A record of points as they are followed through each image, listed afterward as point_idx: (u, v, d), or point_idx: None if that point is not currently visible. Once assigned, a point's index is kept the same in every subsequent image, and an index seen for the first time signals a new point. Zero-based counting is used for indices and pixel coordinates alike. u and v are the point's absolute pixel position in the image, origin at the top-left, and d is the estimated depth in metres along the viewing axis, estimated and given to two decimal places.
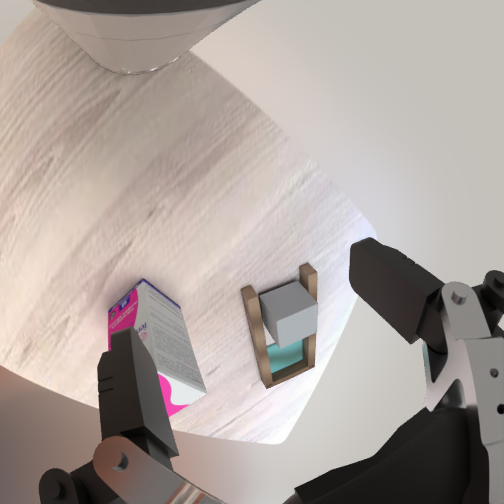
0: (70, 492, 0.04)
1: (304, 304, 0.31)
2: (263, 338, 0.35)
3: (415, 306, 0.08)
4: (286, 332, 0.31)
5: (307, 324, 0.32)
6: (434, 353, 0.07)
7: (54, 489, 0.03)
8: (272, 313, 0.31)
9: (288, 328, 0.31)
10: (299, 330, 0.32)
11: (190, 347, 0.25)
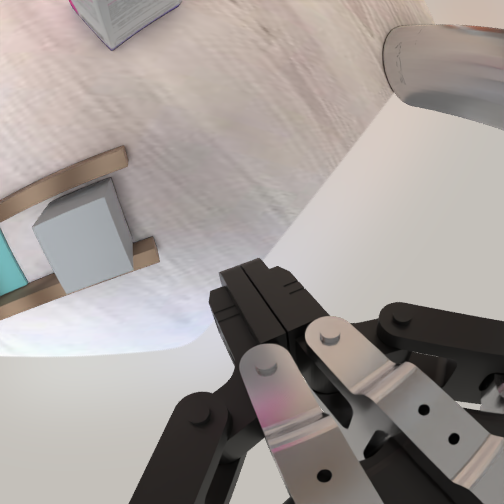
0: (218, 413, 0.05)
1: (126, 248, 0.17)
2: (31, 203, 0.15)
3: None
4: (72, 228, 0.14)
5: (85, 267, 0.16)
6: (327, 396, 0.07)
7: (199, 414, 0.05)
8: (106, 192, 0.15)
9: (83, 229, 0.15)
10: (74, 254, 0.15)
11: (111, 22, 0.09)
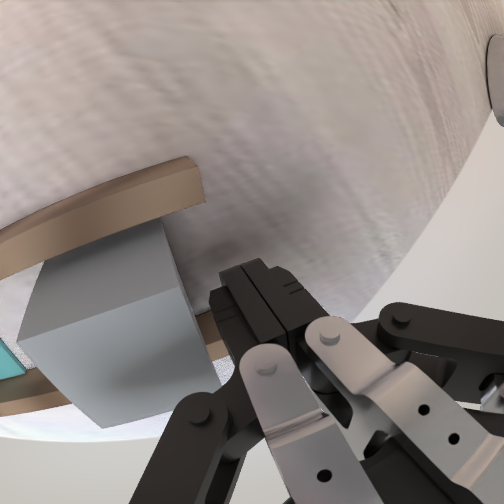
0: (218, 413, 0.05)
1: (210, 360, 0.09)
2: (11, 268, 0.07)
3: None
4: (105, 346, 0.07)
5: (136, 398, 0.08)
6: (327, 396, 0.07)
7: (199, 414, 0.05)
8: (172, 264, 0.08)
9: (129, 347, 0.07)
10: (113, 383, 0.07)
11: None
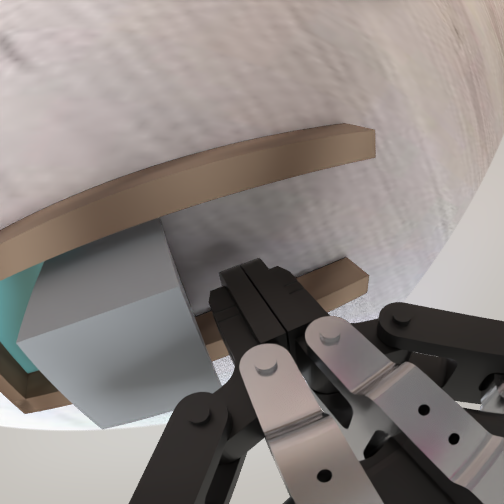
0: (218, 413, 0.05)
1: (210, 360, 0.09)
2: (201, 196, 0.09)
3: None
4: (105, 346, 0.07)
5: (136, 398, 0.08)
6: (327, 396, 0.07)
7: (199, 414, 0.05)
8: (172, 264, 0.08)
9: (129, 347, 0.07)
10: (113, 384, 0.07)
11: None
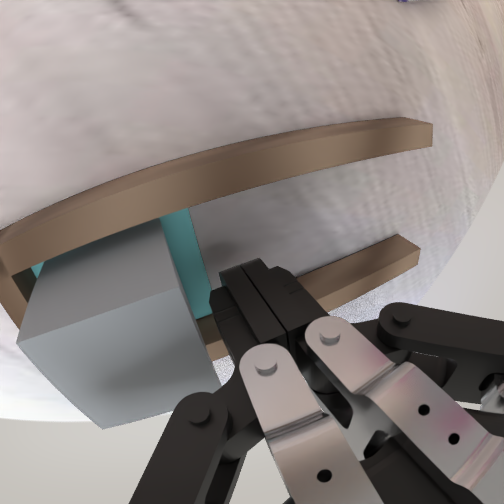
0: (218, 413, 0.05)
1: (210, 360, 0.09)
2: (318, 164, 0.10)
3: None
4: (105, 347, 0.07)
5: (136, 398, 0.08)
6: (327, 396, 0.07)
7: (199, 414, 0.05)
8: (172, 264, 0.08)
9: (129, 347, 0.07)
10: (113, 384, 0.07)
11: None
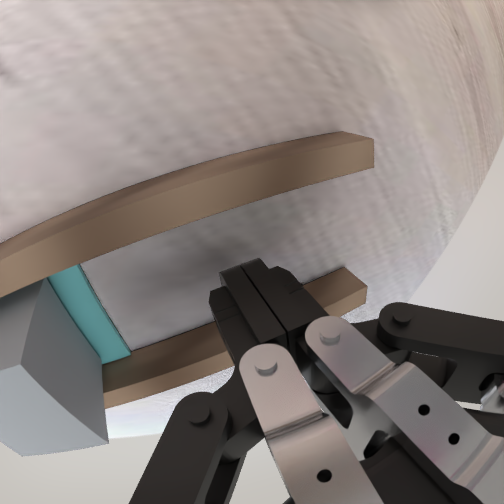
0: (218, 413, 0.05)
1: (88, 415, 0.08)
2: (193, 214, 0.09)
3: None
4: None
5: (34, 438, 0.07)
6: (327, 396, 0.07)
7: (199, 414, 0.05)
8: (29, 336, 0.06)
9: (8, 402, 0.06)
10: (11, 425, 0.06)
11: None
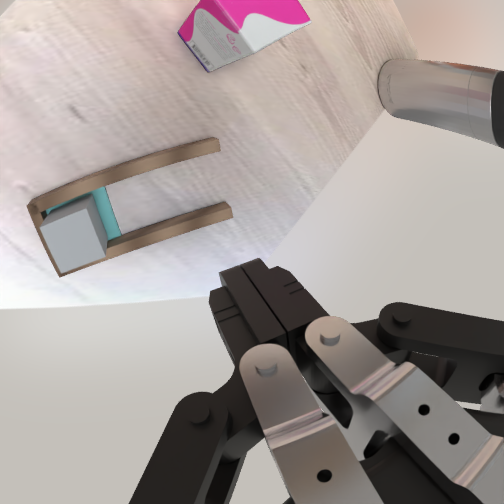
0: (218, 413, 0.05)
1: (101, 242, 0.24)
2: (147, 169, 0.25)
3: None
4: (66, 228, 0.22)
5: (74, 254, 0.23)
6: (327, 396, 0.07)
7: (199, 414, 0.05)
8: (88, 205, 0.23)
9: (72, 229, 0.22)
10: (67, 245, 0.22)
11: None
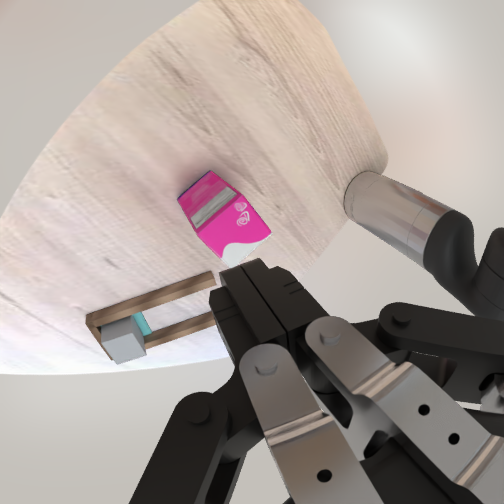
0: (218, 413, 0.05)
1: (142, 346, 0.39)
2: (167, 300, 0.40)
3: None
4: (119, 343, 0.36)
5: (125, 355, 0.37)
6: (327, 396, 0.07)
7: (199, 414, 0.05)
8: (132, 327, 0.37)
9: (124, 343, 0.36)
10: (121, 351, 0.37)
11: None
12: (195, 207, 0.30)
